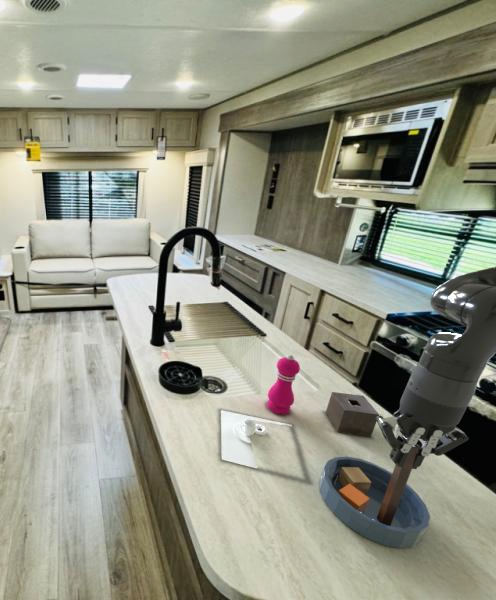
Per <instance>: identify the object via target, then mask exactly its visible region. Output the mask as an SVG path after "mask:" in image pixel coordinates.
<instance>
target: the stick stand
mask: <svg viewBox="0 0 496 600" xmlns="http://www.w3.org/2000/svg"><path fill="white" fill-rule="evenodd" d="M325 414H326V415H327V417H328V419H329V421H330V422H331V424H332V426H333V427H334V428H335V430H336V432H337V433H342V434H348V435H355V436H362V437H369V438H371V437H372V434H373V432H374V430H375V427H376V424H377V421H376V417H377V416H380V414H379V412H378V411H377V410H376V409H375V407H374V406H373V405H372V404H371V402H369V400H368V399H367V398H366V397H365V396H364V395H361V394H353V393H344V392H335V391H331V394H330V397H329V400H328V403H327V406H326V410H325Z"/></svg>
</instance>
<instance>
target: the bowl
mask: <svg viewBox="0 0 496 600" xmlns="http://www.w3.org/2000/svg"><path fill="white" fill-rule="evenodd" d="M341 467H358V468H359V469H360V470H361V471H362V472H363V473H364V474H365V475H366V477H367V478H368V479H369V480H370V481H371V482H372V483H371V485H370V487H369V490H368V492H367V494H366V496H367V497H368V498H370V500H369V502H368V504H367V507H366V509H365V511H364V512H363V513H361V512H359V511H358V510H356V509H355V508H353V507H352V506H351V505H350V504H349V503H348V502H346V501H345V500H344V499H343V498H342V497H341V496H340V495H339V494H338V492H339V490H340V489H342V488H344V487H343V486H342V485H341V483H340V482H339V481H338V479H337V478H338V475H339V473H340V470H341ZM392 473H393V472H391V471H389V470H388V469H386V468H384V467H381V466H379V465H377V464H376V463H374V462H371V461H368V460H365V459H363V458H358V457H352V456H347V455H346V456H335V457H333V458H331V459H328V460H327V462H326V463H325V465H324V466H323V469H322V472H321V475H320V478H319V481H318V483H319V488H318V489H319V492H320V495H321V497H322V499H323V501H324V503H325V504H326V506H327V507H328V508H329V510H330V511H331V512H332V513H333V515H334V516H336V517H337V518H338V519H339V520H340V521H341V522H342V523H344V525H345V526H347V527H348V528H350V529H351V530H352V531H355V532H356V533H358V534H359V535H360V536H362V537H364V538H366V539H368V540H371V541H372V542H374V543H377V544H379V545H382V546H386V547H390V548H395V549H407V548H412V547H414V546H415V545H417V544H418V543H420V542H421V540H422V538H423V537H424V535H425V533H426V531H427V529H428V528H429V524H430V520H431V515H430V513H429V509H428V507H427V505H426V503H425V502H424V501H423V499H422V497H420V495H419V494H418V492H416V491H415V490H414V489H413V488H412V487H411V486H410V485H409V484H407V483H406V486H405V489H404V491H403V494H402V497H401V499H400V502H399V505H398V507H397V510H396V513H395V515H394V518H393V521H392V523H391V526H387V525H385V524H383V523H380V522H379V521H378V520H377V516H378V513H379V510H380V507H381V504H382V501H383V499H384V496H385V493H386V490H387V487H388V485H389V482H390V479H391V476H392Z"/></svg>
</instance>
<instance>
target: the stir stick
mask: <svg viewBox="0 0 496 600" xmlns="http://www.w3.org/2000/svg"><path fill="white" fill-rule="evenodd" d="M419 449H420V448H419V447H418V446H417V445H412V447H411V449H410V451H409V452H408V456H407V458H406V460H405V463H404V465H403V467H399V466H396V465H395V464H394V467H393V471H392V472H391V473H392V476H391V479H390V482H389V485H388V487H387V490H386V493H385V496H384V499H383V501H382V504H381V507H380V510H379V513H378V516H377V520H378V521H379V522H380V523H383V524H385V525H387V526H391V523H392V521H393V518H394V515H395V513H396V510H397V507H398V505H399V502H400V499H401V497H402V494H403V491H404V489H405V486H406V484H407V483H408V481H409V478H410V475H411V472H412V470H413V469H412V467H413V464H414V462H415V459H416V456H417V454H418V451H419Z"/></svg>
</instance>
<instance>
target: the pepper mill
mask: <svg viewBox="0 0 496 600" xmlns="http://www.w3.org/2000/svg"><path fill="white" fill-rule="evenodd" d="M276 368H277V371H276V377H277V378H276V381H275V383H274V384H273V385H272V386H271V387H270V388H269V389H268V393H267V398H268V400H267V406H266V407H267V408H268V409H269V410H270V411H271V412H273V413H275V414H277V415H280V416H281V415H282V416H285V415H288V414H289V413H290V411H291V406H292V405H294V403H295V394H294V391H293V382H294V381H295V380H296V377H297V375H298V374H299V372H300V370H301V366H300V362H298V361H297V360H296V359H295V356H294V355H293V354H291V353H290V354H287V356H286V357H285V356H284V357H281V358H279V359H278V360H277V363H276Z"/></svg>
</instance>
